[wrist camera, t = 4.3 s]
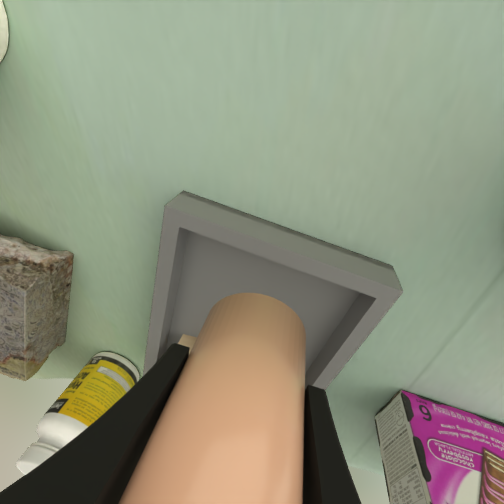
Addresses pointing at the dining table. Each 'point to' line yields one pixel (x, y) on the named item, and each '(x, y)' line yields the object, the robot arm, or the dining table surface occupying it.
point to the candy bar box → (439, 453)
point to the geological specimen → (31, 305)
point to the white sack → (3, 31)
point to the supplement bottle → (80, 405)
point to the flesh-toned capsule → (232, 413)
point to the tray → (264, 281)
